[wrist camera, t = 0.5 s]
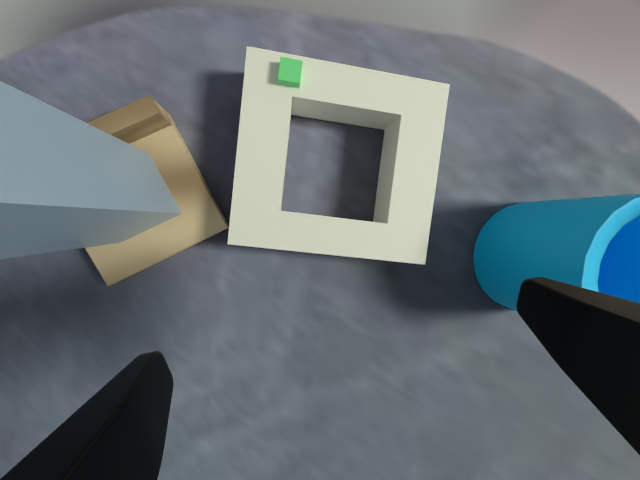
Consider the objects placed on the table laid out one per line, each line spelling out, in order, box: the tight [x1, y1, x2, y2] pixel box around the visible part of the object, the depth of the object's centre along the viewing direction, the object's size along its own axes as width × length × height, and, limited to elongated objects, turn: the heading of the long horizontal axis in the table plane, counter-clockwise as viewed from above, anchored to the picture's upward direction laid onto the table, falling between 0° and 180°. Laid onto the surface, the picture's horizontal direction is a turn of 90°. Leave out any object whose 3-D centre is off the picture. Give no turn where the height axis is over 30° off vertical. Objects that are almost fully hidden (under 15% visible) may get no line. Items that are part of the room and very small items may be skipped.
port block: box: [227, 46, 450, 265], centre depth 19 cm, size 11×12×4 cm
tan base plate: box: [85, 96, 229, 286], centre depth 18 cm, size 8×8×3 cm
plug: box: [0, 81, 182, 260], centre depth 11 cm, size 4×4×14 cm
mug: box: [473, 194, 640, 311], centre depth 19 cm, size 12×8×8 cm
